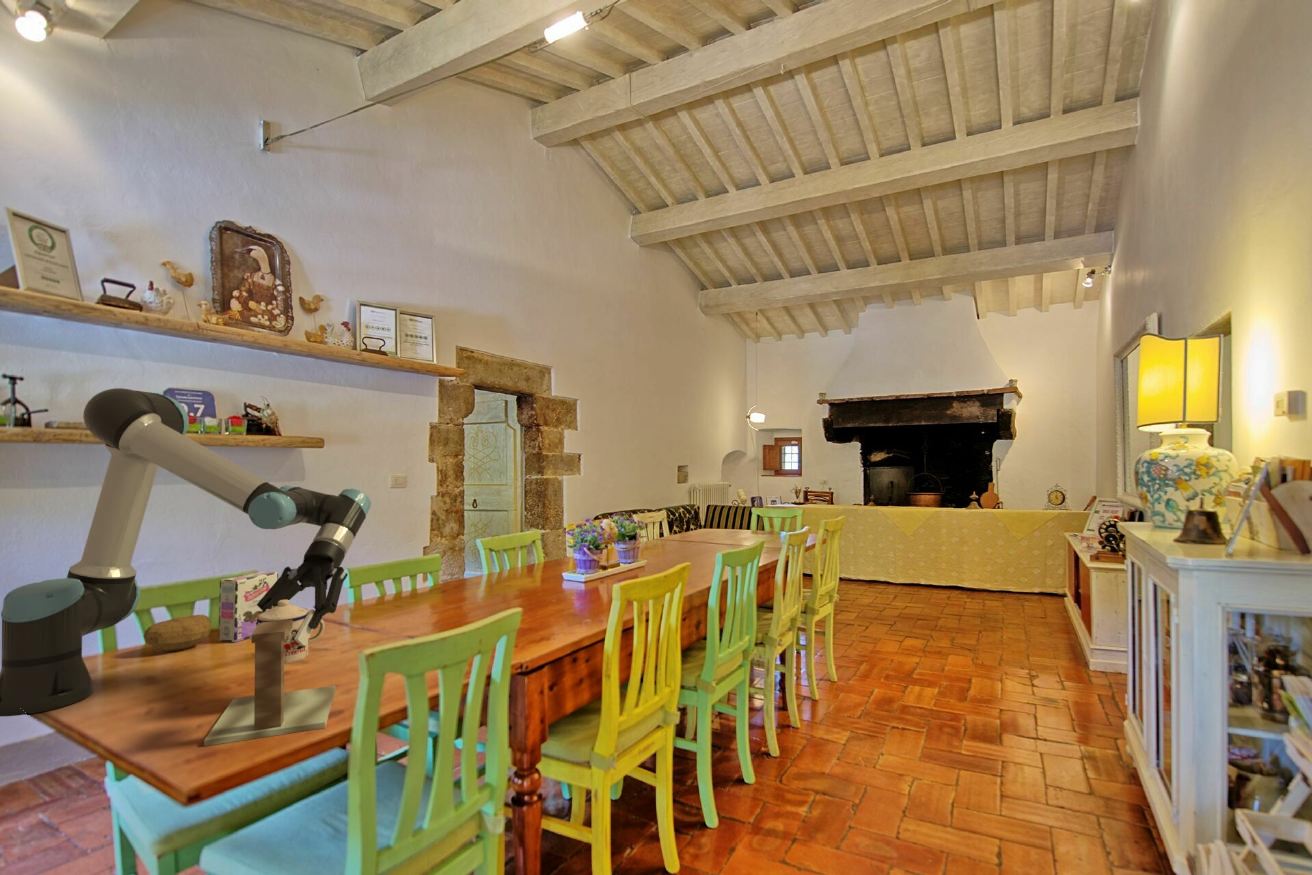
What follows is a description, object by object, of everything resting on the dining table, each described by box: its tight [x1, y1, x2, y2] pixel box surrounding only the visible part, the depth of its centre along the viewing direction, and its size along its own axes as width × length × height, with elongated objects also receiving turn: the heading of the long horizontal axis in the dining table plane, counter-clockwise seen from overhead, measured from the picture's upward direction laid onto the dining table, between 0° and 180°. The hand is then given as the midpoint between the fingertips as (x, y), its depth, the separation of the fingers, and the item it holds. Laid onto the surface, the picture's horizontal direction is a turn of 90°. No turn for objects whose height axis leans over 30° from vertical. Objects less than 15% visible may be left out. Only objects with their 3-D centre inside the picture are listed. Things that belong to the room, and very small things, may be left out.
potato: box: [143, 614, 212, 653], centre depth 162 cm, size 10×14×8 cm
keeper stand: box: [203, 620, 337, 747], centre depth 119 cm, size 18×20×18 cm
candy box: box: [218, 570, 279, 643], centre depth 175 cm, size 14×6×16 cm, turn 165°
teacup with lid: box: [257, 600, 326, 665], centre depth 129 cm, size 12×9×12 cm
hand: (277, 641), depth 126 cm, fingers closed on teacup with lid, 9 cm apart
